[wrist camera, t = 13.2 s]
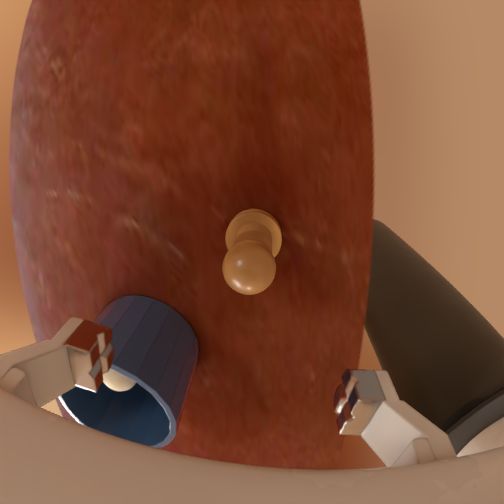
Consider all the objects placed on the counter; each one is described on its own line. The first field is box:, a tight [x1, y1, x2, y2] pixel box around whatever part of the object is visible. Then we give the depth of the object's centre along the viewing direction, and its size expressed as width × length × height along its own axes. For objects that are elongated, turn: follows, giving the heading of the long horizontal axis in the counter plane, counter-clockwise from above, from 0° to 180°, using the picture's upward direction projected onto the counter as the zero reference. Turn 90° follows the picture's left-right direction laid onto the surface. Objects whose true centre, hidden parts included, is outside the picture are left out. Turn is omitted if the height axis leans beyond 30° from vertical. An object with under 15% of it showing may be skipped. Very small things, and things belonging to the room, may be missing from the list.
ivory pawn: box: [103, 369, 136, 391], centre depth 23 cm, size 4×4×8 cm
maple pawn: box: [222, 209, 282, 295], centre depth 20 cm, size 4×4×8 cm
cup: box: [58, 295, 199, 448], centre depth 24 cm, size 10×10×9 cm
